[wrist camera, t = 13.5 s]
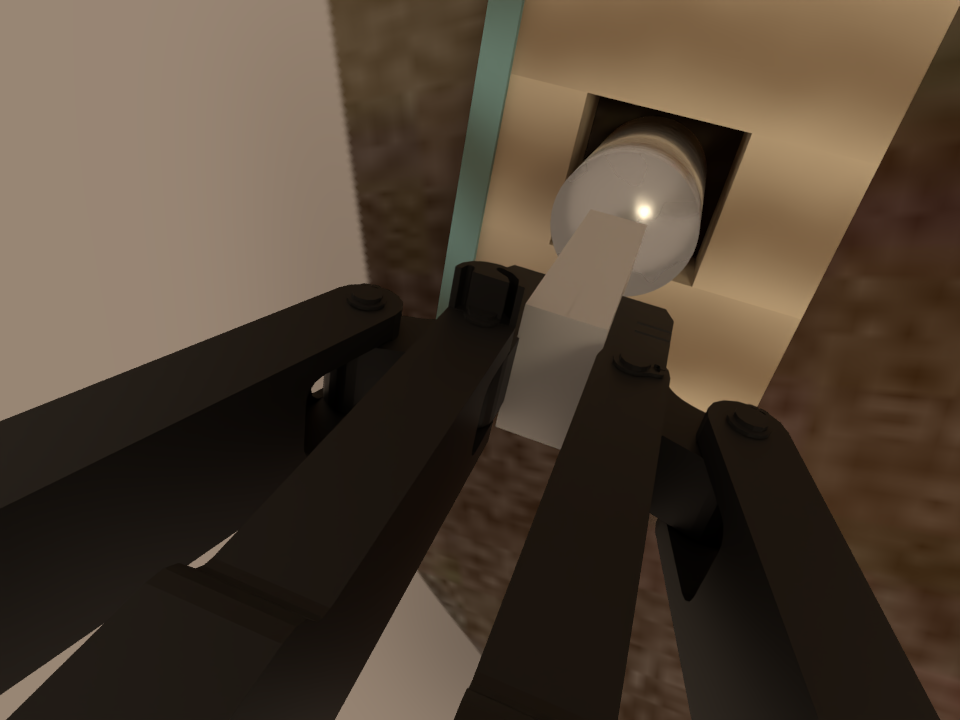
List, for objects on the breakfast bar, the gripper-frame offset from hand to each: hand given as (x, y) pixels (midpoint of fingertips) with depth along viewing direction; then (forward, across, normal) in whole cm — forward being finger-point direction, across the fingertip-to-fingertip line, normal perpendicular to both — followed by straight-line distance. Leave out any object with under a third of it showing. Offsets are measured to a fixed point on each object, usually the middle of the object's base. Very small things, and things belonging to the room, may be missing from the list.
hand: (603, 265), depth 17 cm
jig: (+12, 0, 0) cm, 12 cm away
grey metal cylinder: (+12, 0, 0) cm, 12 cm away
